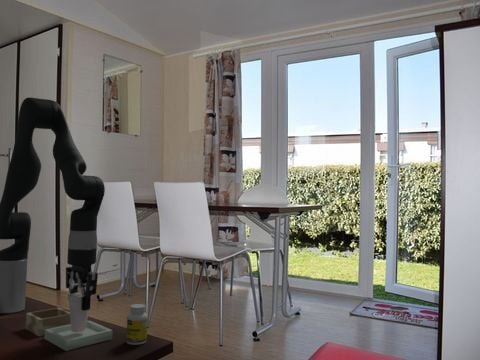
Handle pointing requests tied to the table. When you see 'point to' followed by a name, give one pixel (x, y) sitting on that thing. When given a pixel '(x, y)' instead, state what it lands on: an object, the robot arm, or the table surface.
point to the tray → (77, 336)
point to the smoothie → (77, 312)
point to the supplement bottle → (137, 325)
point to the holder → (46, 320)
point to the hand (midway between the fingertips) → (79, 307)
